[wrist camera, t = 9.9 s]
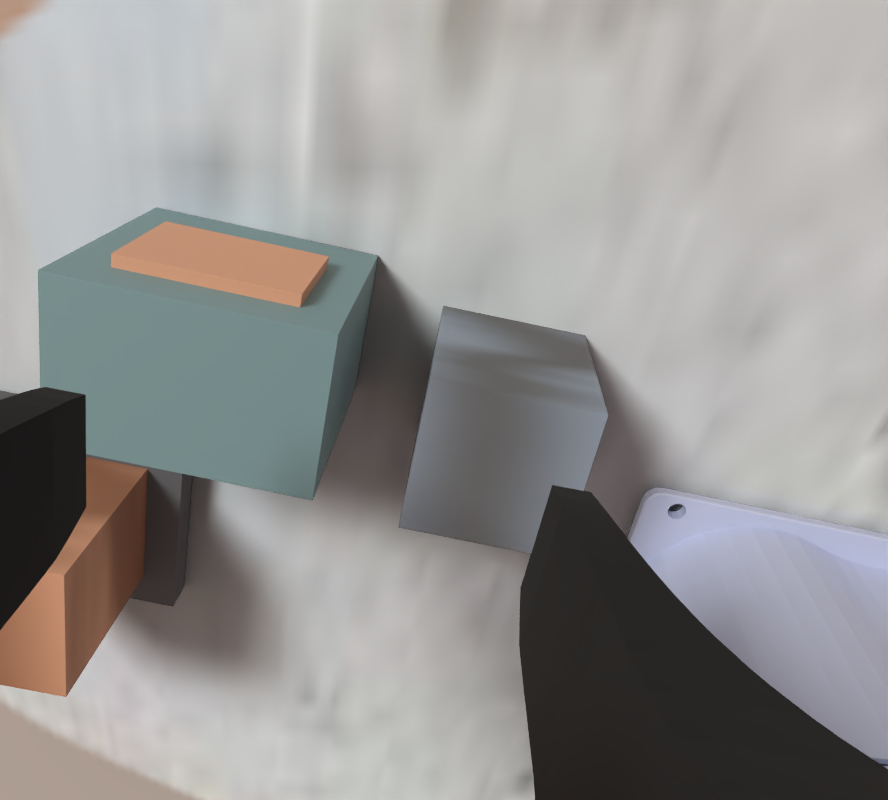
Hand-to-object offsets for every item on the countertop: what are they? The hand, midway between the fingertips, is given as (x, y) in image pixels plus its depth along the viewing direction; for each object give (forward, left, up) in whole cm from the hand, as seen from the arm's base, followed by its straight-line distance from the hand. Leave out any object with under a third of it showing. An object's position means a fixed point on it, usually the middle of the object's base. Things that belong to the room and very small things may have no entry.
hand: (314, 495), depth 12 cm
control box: (+4, +1, -10) cm, 11 cm away
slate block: (-3, +2, -11) cm, 11 cm away
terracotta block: (+8, +9, -9) cm, 15 cm away
